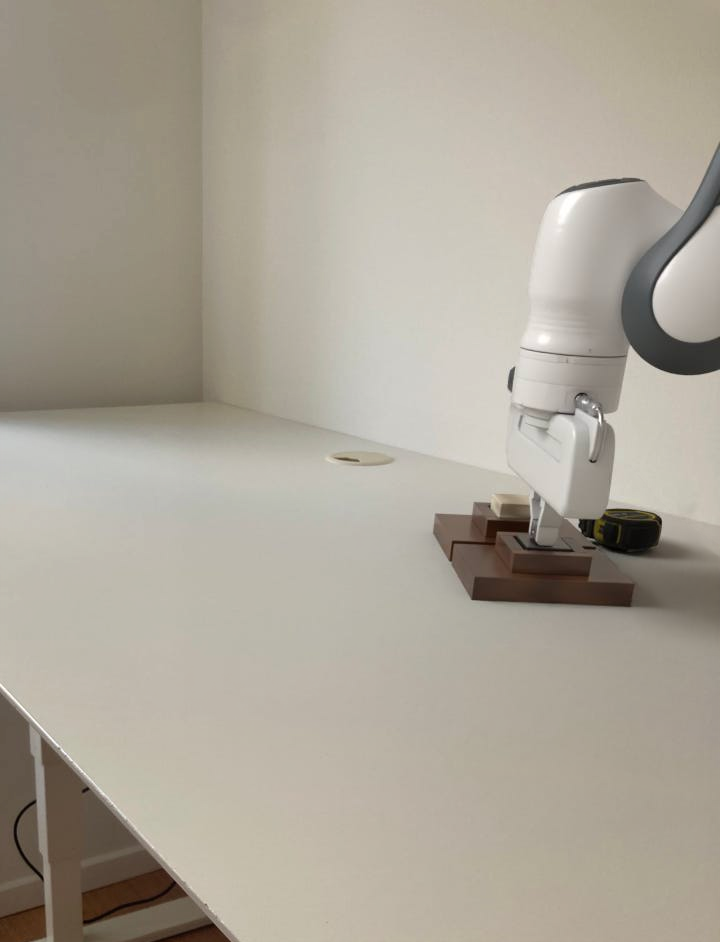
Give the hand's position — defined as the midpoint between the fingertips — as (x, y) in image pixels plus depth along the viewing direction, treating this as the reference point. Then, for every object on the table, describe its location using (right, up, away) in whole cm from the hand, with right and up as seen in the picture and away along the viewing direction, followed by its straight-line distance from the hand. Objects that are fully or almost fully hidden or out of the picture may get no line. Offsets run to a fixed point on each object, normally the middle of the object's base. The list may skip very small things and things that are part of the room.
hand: (541, 541), depth 93 cm
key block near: (0, -4, +2) cm, 4 cm away
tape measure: (+12, +1, +15) cm, 19 cm away
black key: (0, -2, +1) cm, 2 cm away
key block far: (0, 0, +12) cm, 12 cm away
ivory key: (0, +4, +11) cm, 11 cm away
